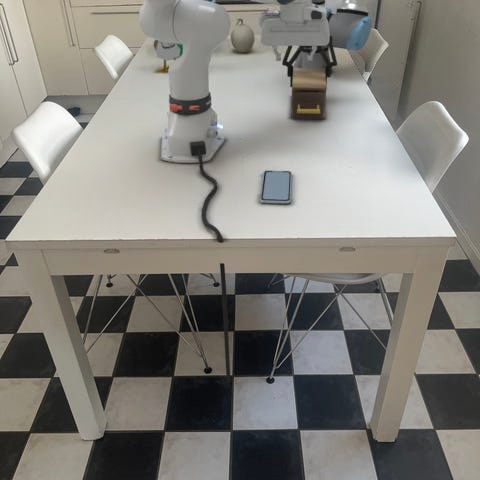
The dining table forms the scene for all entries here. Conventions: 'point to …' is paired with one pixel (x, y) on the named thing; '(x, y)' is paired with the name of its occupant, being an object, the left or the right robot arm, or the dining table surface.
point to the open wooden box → (309, 83)
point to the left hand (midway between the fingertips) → (294, 60)
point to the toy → (167, 52)
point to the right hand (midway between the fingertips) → (308, 86)
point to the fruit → (242, 37)
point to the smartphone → (276, 187)
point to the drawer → (308, 104)
